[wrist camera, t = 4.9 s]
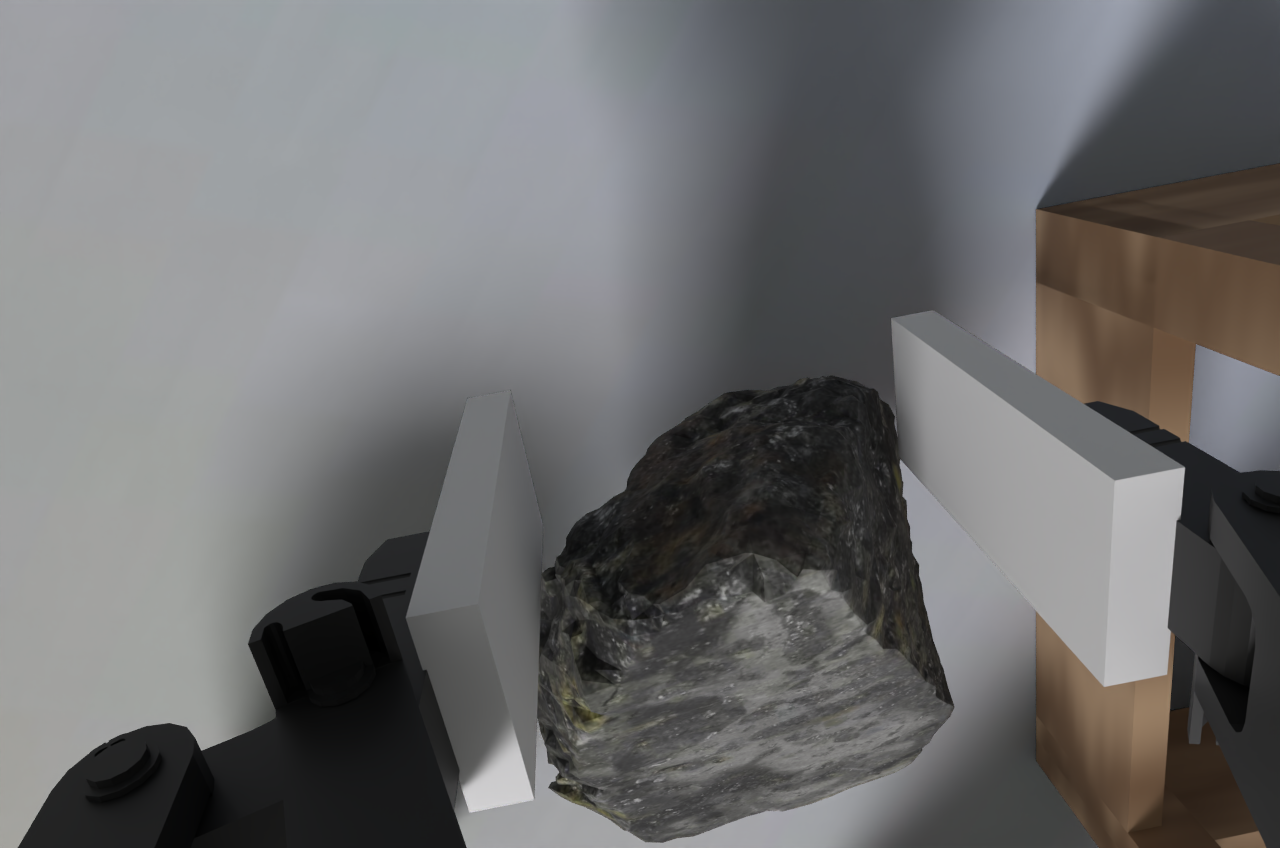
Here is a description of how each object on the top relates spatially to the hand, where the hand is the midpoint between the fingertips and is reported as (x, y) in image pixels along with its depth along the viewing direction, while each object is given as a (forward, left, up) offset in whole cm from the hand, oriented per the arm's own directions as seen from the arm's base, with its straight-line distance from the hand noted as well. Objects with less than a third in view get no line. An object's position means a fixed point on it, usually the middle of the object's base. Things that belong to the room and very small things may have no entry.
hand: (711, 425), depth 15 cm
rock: (+1, +3, -3) cm, 4 cm away
